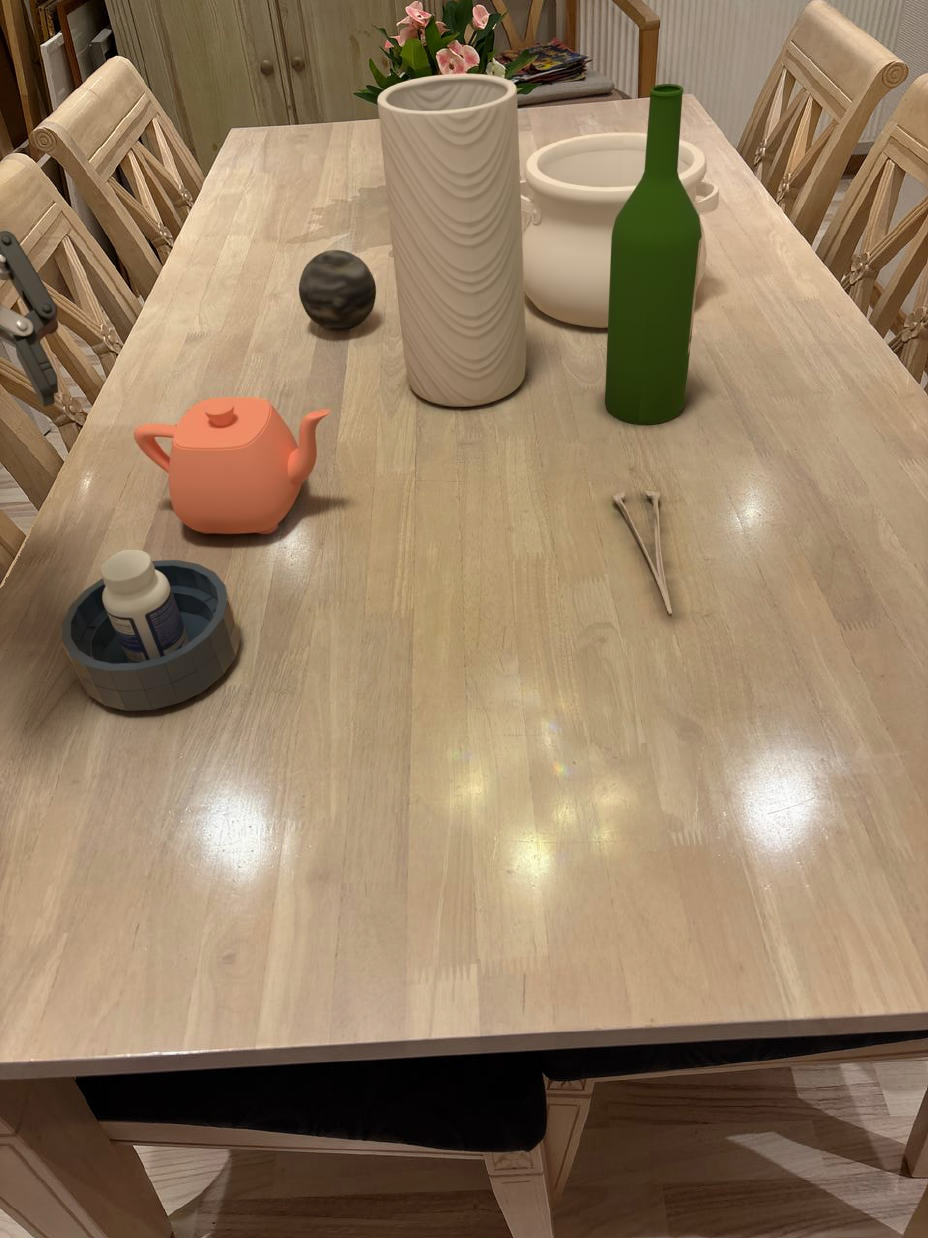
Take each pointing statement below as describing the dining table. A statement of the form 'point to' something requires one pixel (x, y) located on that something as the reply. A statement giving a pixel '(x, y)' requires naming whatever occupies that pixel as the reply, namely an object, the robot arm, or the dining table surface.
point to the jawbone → (659, 561)
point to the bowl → (165, 676)
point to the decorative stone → (337, 290)
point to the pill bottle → (141, 607)
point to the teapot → (233, 463)
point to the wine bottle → (653, 279)
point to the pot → (589, 218)
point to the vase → (456, 234)
